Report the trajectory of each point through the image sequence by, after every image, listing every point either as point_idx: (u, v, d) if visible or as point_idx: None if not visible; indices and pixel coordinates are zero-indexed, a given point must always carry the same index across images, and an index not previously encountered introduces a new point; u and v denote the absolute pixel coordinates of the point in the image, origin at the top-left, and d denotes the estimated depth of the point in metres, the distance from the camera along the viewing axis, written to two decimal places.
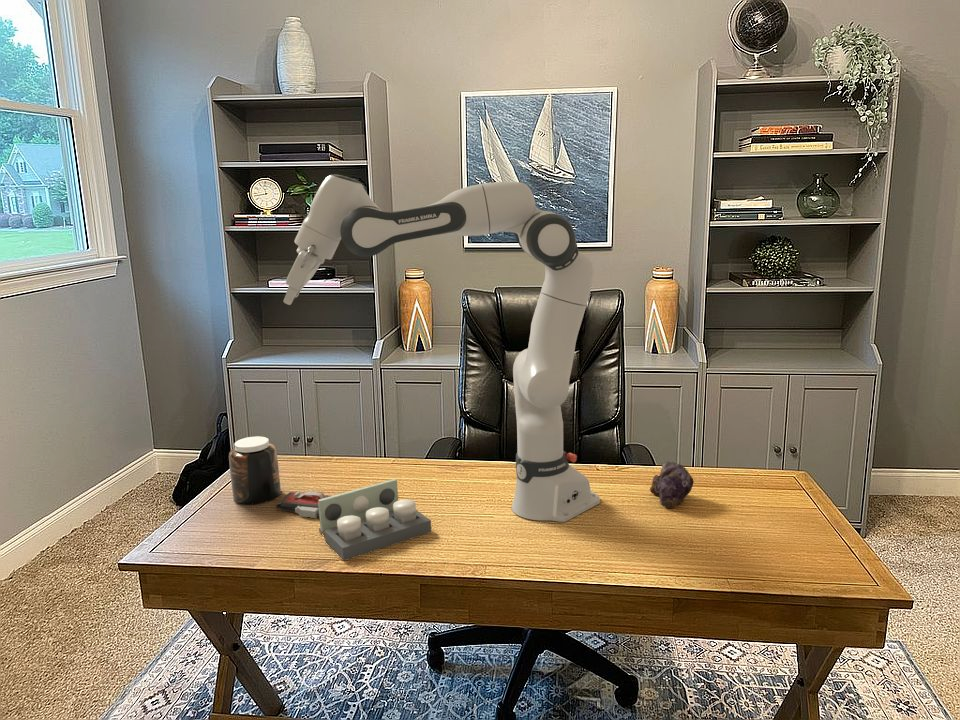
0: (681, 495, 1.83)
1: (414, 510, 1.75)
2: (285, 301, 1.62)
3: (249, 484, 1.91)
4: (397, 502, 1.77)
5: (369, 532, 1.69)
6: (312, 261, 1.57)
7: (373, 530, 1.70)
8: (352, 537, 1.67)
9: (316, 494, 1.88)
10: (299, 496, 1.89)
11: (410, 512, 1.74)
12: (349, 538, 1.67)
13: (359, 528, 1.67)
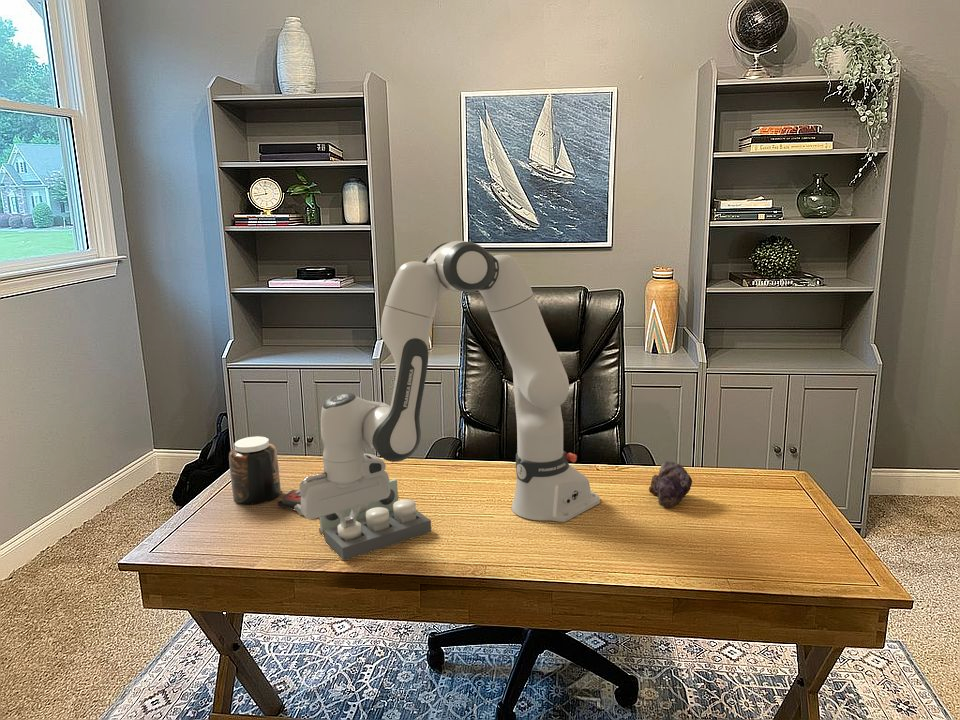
0: (679, 495, 1.83)
1: (414, 510, 1.75)
2: (341, 525, 1.68)
3: (249, 484, 1.91)
4: (397, 502, 1.77)
5: (369, 532, 1.69)
6: (308, 490, 1.60)
7: (373, 530, 1.70)
8: None
9: None
10: None
11: (410, 512, 1.74)
12: None
13: (359, 533, 1.68)
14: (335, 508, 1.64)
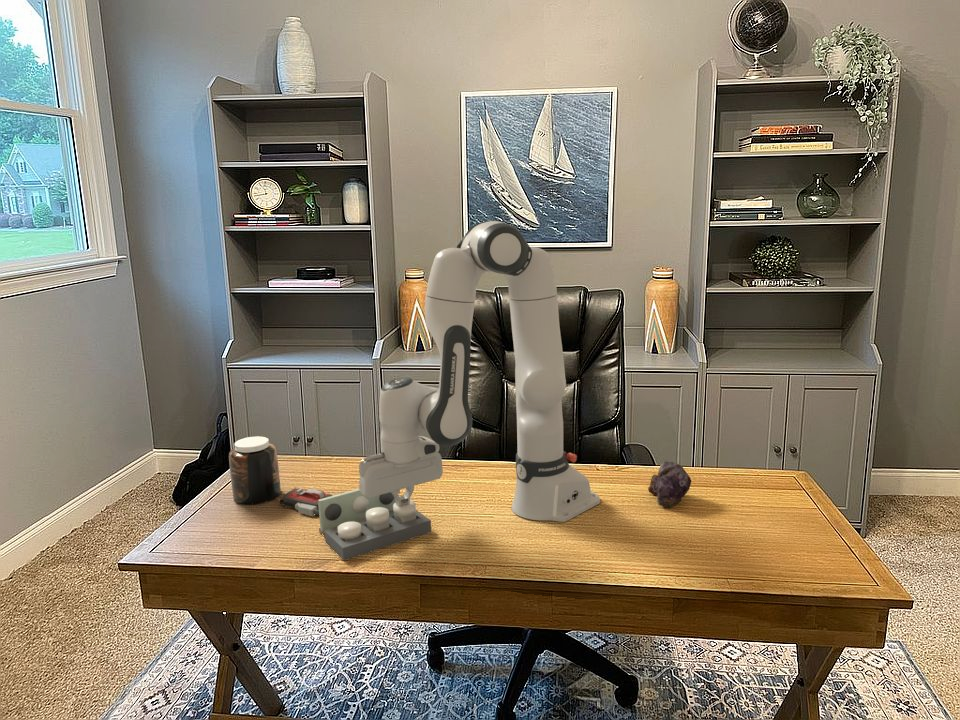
0: (678, 495, 1.83)
1: (414, 511, 1.75)
2: (396, 504, 1.75)
3: (249, 484, 1.91)
4: None
5: (369, 532, 1.69)
6: (368, 469, 1.67)
7: (373, 530, 1.70)
8: None
9: (316, 492, 1.89)
10: (301, 493, 1.91)
11: (411, 512, 1.74)
12: None
13: (359, 534, 1.68)
14: (392, 487, 1.71)
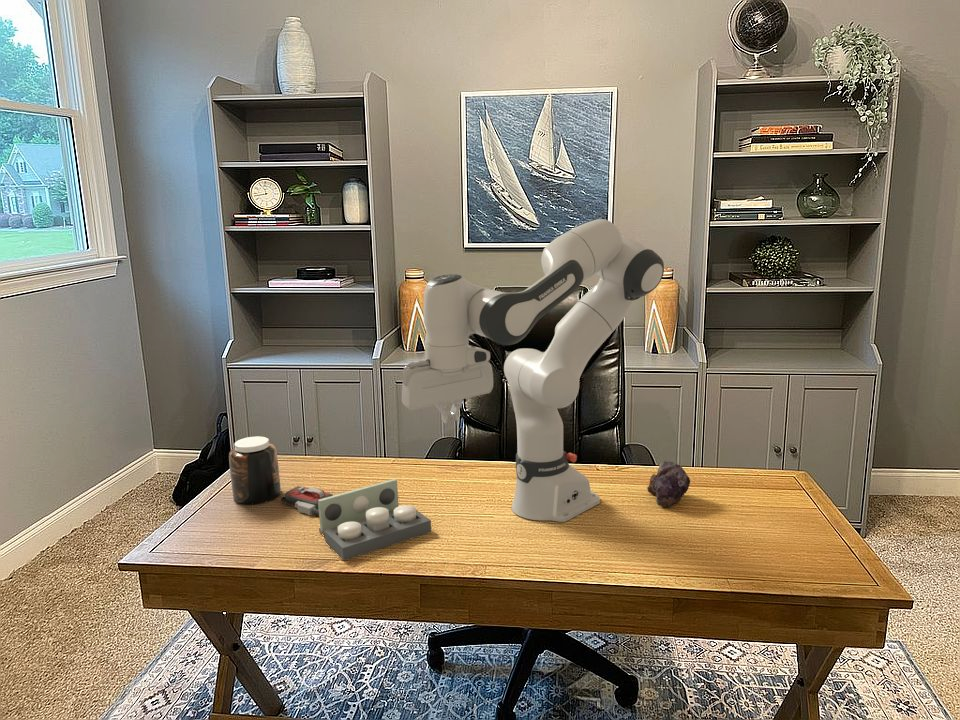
0: (677, 494, 1.83)
1: (414, 516, 1.75)
2: (442, 420, 1.55)
3: (249, 484, 1.91)
4: (397, 508, 1.77)
5: (369, 532, 1.69)
6: (412, 377, 1.47)
7: (373, 530, 1.70)
8: None
9: (316, 491, 1.89)
10: (302, 491, 1.92)
11: (411, 518, 1.74)
12: None
13: (359, 534, 1.68)
14: (438, 399, 1.51)
